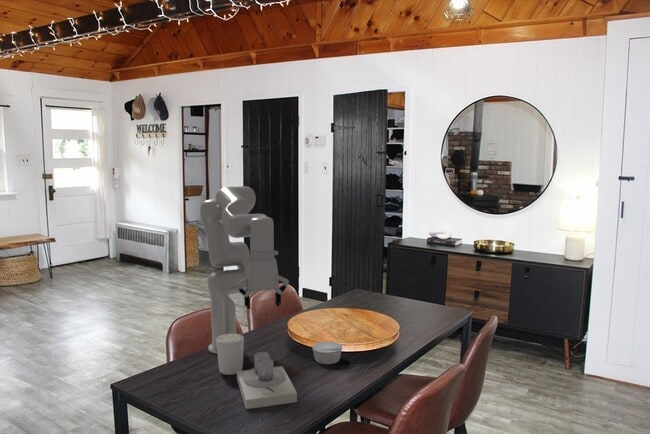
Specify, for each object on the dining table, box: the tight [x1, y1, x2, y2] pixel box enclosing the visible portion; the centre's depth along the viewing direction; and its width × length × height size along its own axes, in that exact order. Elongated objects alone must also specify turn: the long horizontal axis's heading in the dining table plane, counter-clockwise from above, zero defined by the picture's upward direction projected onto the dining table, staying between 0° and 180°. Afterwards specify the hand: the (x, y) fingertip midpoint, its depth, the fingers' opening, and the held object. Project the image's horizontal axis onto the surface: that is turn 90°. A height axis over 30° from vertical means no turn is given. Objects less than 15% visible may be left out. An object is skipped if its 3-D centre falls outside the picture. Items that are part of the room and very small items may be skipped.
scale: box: [236, 365, 298, 410], centre depth 172 cm, size 22×16×4 cm
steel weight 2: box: [258, 357, 274, 382], centre depth 172 cm, size 5×5×6 cm
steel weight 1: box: [253, 351, 270, 374], centre depth 178 cm, size 5×5×6 cm
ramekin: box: [312, 341, 343, 365], centre depth 198 cm, size 11×11×5 cm
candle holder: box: [216, 333, 245, 376], centre depth 188 cm, size 10×10×12 cm
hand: (262, 306), depth 171 cm, fingers open, 9 cm apart
